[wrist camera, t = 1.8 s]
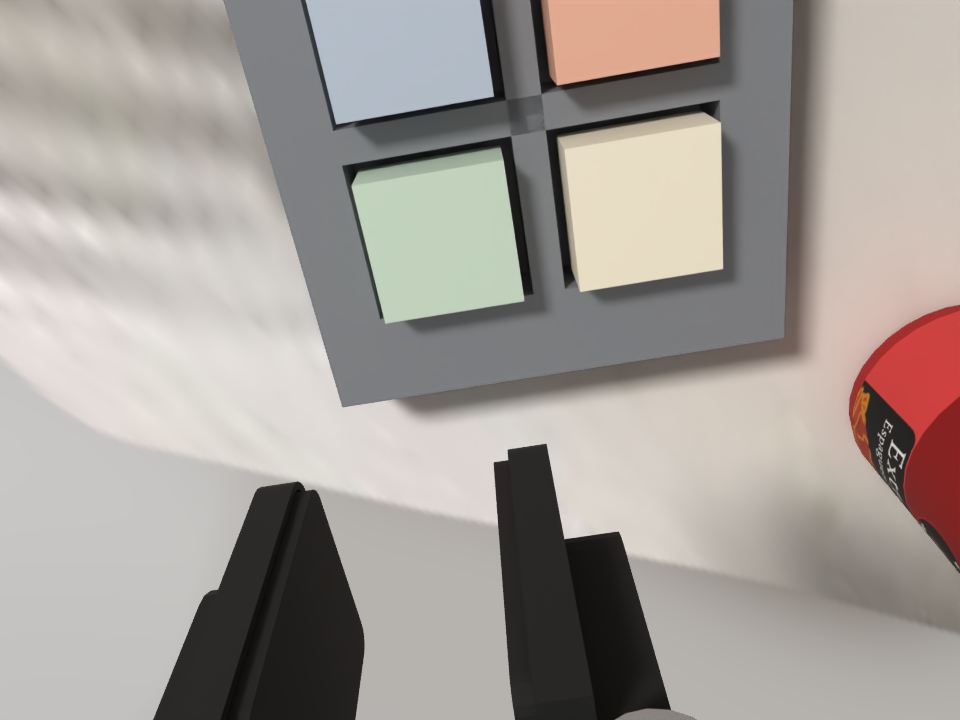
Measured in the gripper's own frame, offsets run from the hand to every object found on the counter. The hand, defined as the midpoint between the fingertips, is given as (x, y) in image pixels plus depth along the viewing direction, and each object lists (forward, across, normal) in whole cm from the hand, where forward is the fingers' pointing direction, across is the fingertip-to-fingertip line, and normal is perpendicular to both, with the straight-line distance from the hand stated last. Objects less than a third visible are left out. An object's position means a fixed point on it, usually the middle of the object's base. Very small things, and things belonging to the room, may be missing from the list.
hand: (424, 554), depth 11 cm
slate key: (+15, 0, -6) cm, 16 cm away
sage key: (+15, 0, 0) cm, 15 cm away
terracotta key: (+15, -6, -6) cm, 17 cm away
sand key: (+15, -6, 0) cm, 16 cm away
